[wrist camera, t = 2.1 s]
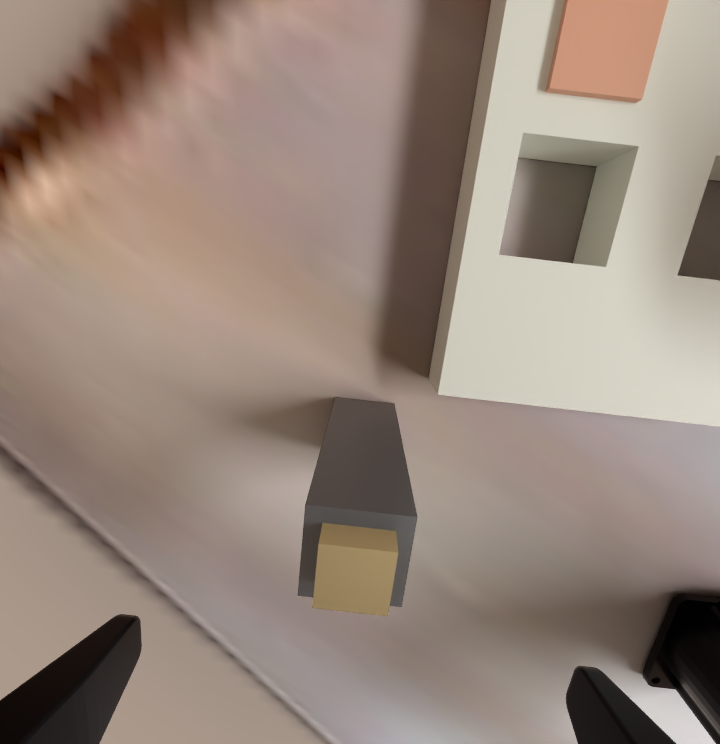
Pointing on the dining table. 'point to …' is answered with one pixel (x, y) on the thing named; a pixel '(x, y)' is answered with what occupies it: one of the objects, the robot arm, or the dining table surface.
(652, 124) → the socket board
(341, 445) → the plug
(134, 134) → the dining table surface
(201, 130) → the dining table surface
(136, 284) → the dining table surface
